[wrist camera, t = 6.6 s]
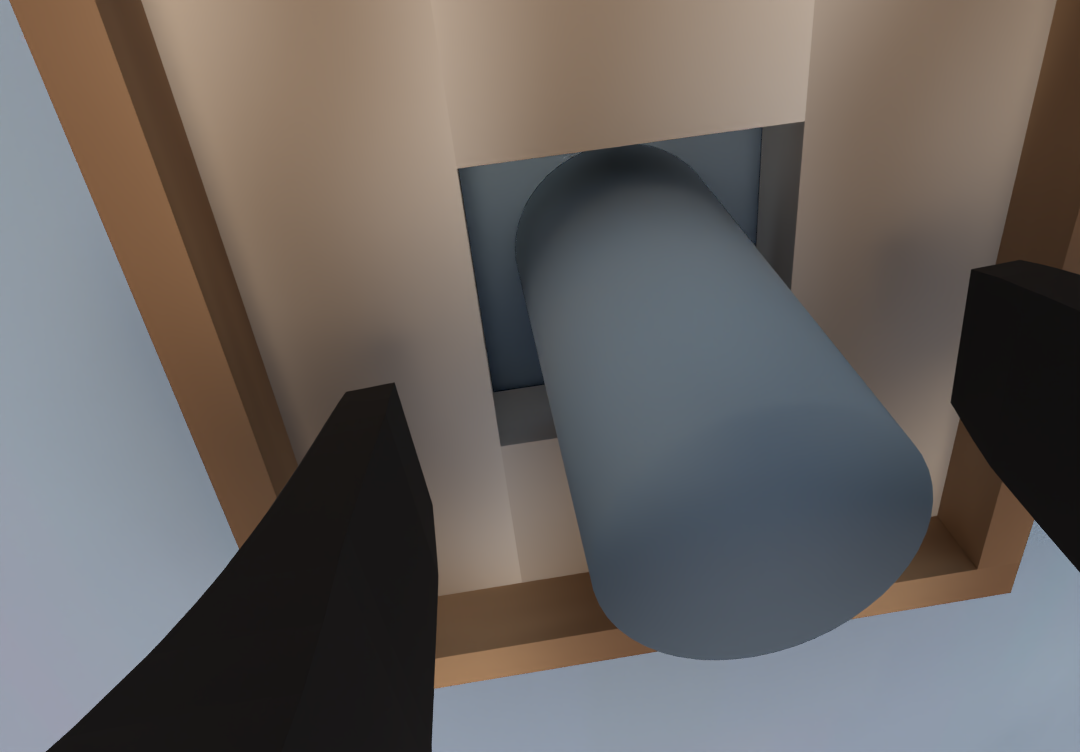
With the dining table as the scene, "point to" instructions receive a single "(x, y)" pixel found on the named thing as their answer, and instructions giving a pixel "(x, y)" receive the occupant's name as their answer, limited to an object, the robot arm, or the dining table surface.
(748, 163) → the dining table surface
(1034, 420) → the robot arm
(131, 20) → the tray box
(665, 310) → the peg
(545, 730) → the dining table surface
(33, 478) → the dining table surface
